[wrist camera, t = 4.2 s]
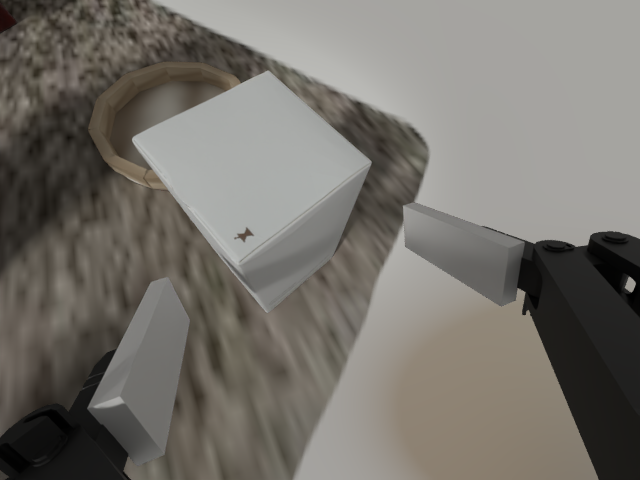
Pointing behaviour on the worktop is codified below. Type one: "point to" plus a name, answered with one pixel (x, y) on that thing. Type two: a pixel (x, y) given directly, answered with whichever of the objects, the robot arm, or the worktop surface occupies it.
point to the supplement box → (260, 182)
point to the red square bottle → (5, 19)
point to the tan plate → (149, 110)
